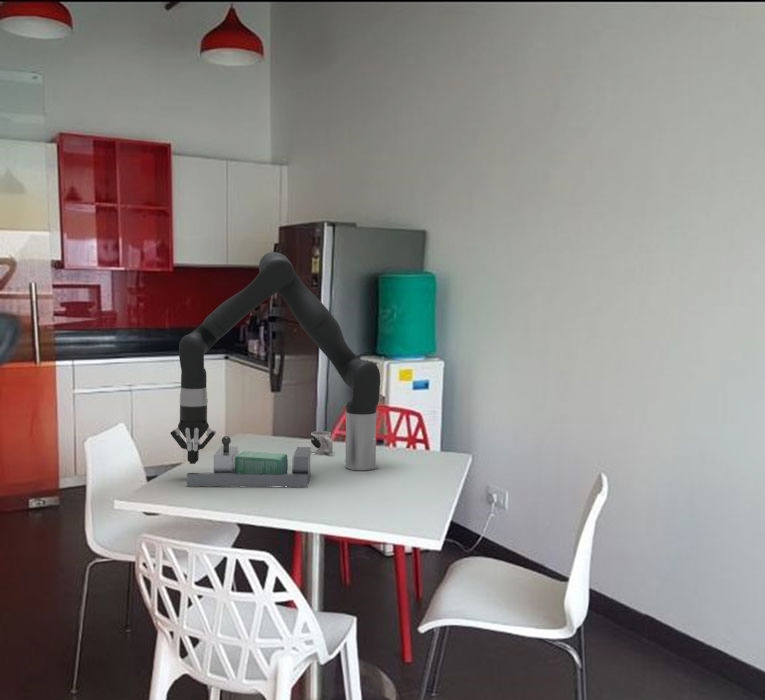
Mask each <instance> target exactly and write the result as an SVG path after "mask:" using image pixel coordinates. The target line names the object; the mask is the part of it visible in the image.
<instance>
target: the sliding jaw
mask: <svg viewBox="0 0 765 700" xmlns="http://www.w3.org/2000/svg"><path fill="white" fill-rule="evenodd" d="M231 441H232V440H231V437H229V435H228V436H226V435H225V436H223V437H222V438H221V444H222V445H223V446H222V445H221V446H219V448H218V449H217V451H216V452H215V453H214V454H213V473H236V456H237V455H238V454H240V450H239V446H230V444H231Z"/></svg>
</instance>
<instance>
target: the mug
mask: <svg viewBox="0 0 765 700" xmlns="http://www.w3.org/2000/svg"><path fill="white" fill-rule="evenodd" d="M310 447H311V452H312V453H315V454H326V455H329V454H328V453H330V454H332V453H333V440H332V432H331V431H325V430H318V431H317V430H316V431H312V432H311V433H310ZM312 453H311V454H312ZM315 454H314V455H315Z"/></svg>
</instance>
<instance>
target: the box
mask: <svg viewBox="0 0 765 700" xmlns="http://www.w3.org/2000/svg"><path fill="white" fill-rule="evenodd" d="M288 462H289V461H288V455H287V453H278V452H262V451H247V450H244V451H242V452H239V454H238V455H237V456H236V473H271V474H288V471H289V468H288V467H289V463H288Z"/></svg>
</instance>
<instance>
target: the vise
mask: <svg viewBox="0 0 765 700" xmlns="http://www.w3.org/2000/svg"><path fill="white" fill-rule="evenodd" d="M311 454H312V453H311V446H307V447H306V446H297V447H296V449H295V451H294V452H293V454H292V455H293V456H292V458H291V459H292V460H291V473H287V474H271V473H214V472H188V473H186V487H188V488H196V487H197V486H238V487H237V488H241V487H240V486H246V487H245V488H273V487H272V486H283V487H282V488H296V487H307V488H308V486H309V481H310V476H311ZM267 486H268V487H267ZM269 486H271V487H269ZM285 486H287V487H285ZM197 488H198V487H197Z"/></svg>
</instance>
